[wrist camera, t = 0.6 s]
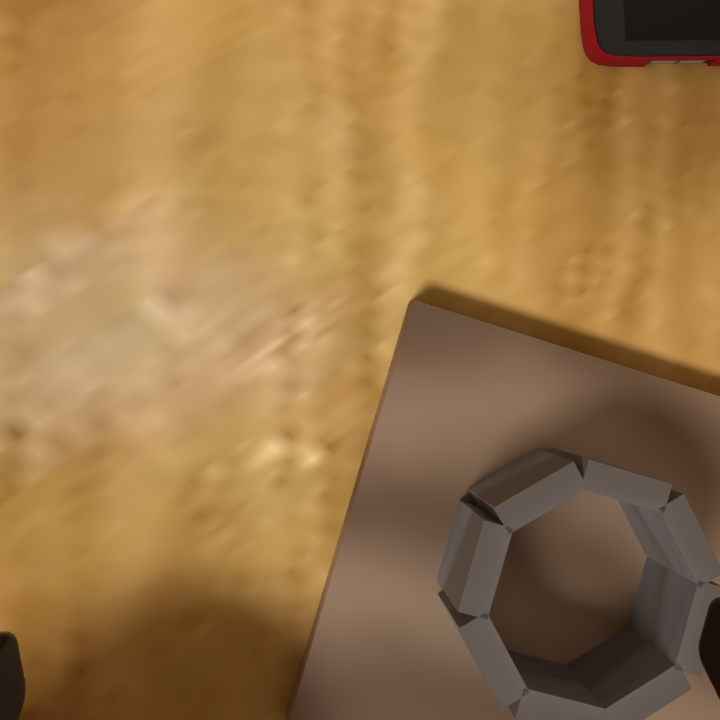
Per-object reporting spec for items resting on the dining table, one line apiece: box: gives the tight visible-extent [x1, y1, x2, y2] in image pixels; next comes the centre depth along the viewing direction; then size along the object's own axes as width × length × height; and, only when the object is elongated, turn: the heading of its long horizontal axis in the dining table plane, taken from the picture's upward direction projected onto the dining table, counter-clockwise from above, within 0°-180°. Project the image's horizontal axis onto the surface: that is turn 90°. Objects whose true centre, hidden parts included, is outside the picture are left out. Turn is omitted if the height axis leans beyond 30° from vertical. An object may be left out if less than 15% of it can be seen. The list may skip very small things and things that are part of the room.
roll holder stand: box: [286, 300, 720, 720], centre depth 23 cm, size 16×16×4 cm
